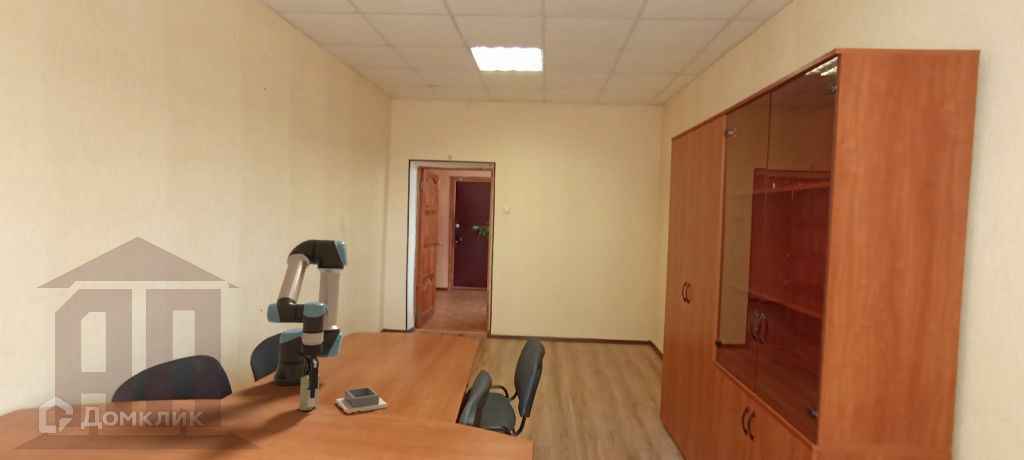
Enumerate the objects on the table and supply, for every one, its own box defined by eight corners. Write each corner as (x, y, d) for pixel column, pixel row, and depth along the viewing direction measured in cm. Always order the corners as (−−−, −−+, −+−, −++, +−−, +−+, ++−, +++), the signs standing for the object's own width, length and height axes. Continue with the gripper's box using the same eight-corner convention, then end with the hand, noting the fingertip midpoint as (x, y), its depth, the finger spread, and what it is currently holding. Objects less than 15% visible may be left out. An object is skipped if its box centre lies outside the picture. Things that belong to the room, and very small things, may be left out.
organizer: (335, 402, 193) (336, 390, 193) (375, 397, 202) (375, 385, 202) (345, 413, 182) (346, 400, 182) (386, 407, 191) (387, 394, 191)
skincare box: (308, 411, 181) (310, 378, 182) (298, 409, 182) (300, 377, 182) (318, 405, 187) (320, 374, 188) (308, 404, 188) (310, 373, 189)
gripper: (296, 338, 191) (293, 396, 191) (307, 349, 175) (303, 413, 174) (316, 337, 196) (313, 393, 195) (329, 347, 179) (325, 409, 179)
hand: (308, 402), depth 185 cm, fingers closed on skincare box, 7 cm apart
